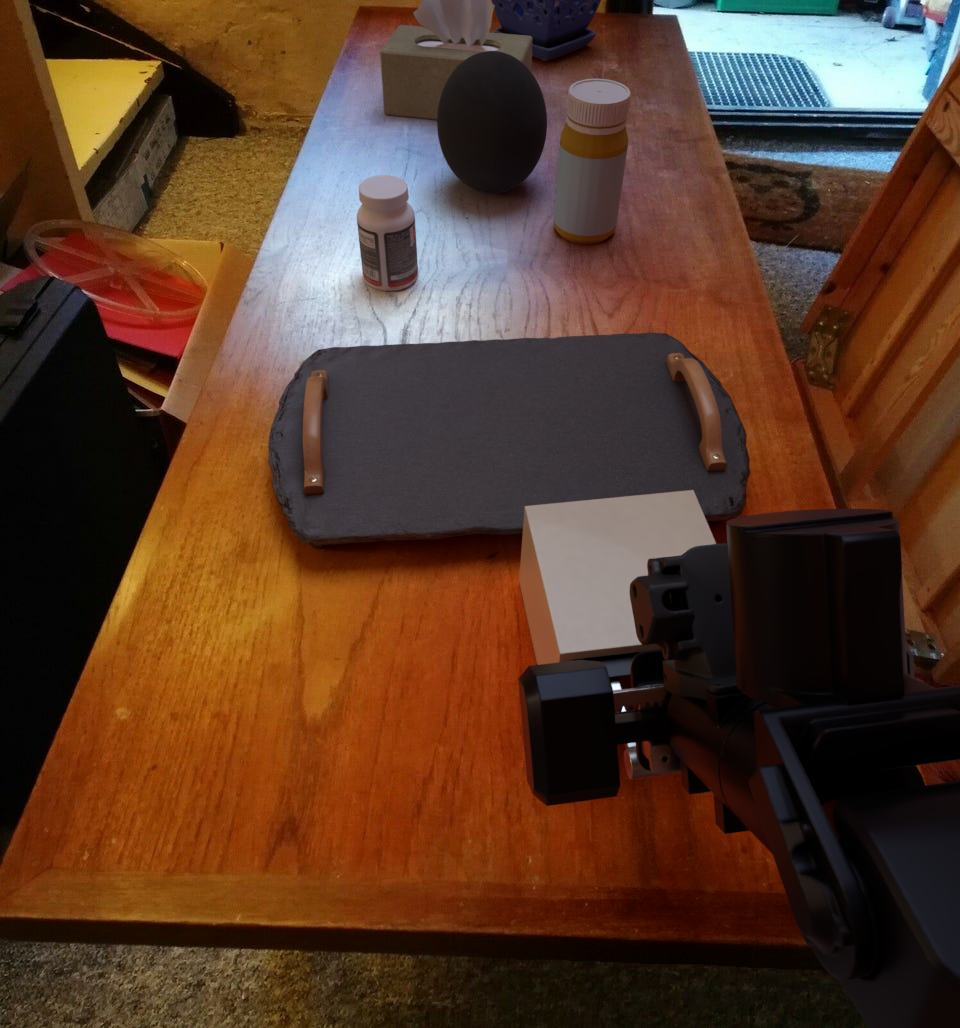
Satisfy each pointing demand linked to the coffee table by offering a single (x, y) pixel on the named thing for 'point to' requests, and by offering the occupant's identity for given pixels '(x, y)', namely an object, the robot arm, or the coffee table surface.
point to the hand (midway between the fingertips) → (661, 669)
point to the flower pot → (548, 23)
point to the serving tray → (497, 434)
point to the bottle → (591, 161)
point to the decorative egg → (492, 122)
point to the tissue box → (439, 53)
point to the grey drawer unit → (598, 568)
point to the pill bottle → (387, 233)
